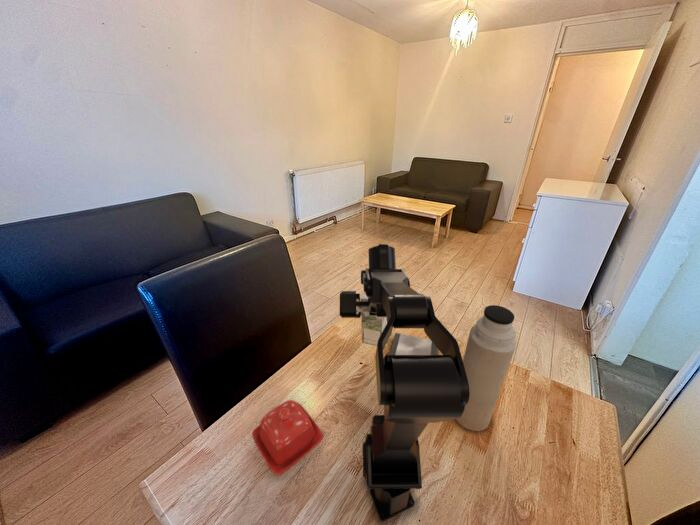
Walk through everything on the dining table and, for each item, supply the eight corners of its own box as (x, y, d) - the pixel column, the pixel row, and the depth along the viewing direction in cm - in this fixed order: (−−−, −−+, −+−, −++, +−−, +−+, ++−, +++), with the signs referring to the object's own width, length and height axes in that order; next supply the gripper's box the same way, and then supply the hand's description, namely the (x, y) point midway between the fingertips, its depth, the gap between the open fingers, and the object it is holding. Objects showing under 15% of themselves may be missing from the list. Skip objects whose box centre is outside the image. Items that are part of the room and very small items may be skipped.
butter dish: (327, 441, 58) (325, 414, 54) (276, 483, 51) (270, 456, 48) (297, 403, 66) (294, 377, 62) (250, 435, 59) (243, 409, 55)
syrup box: (386, 334, 80) (387, 289, 74) (382, 348, 75) (382, 301, 69) (367, 330, 82) (366, 286, 76) (361, 344, 76) (359, 297, 70)
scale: (433, 380, 72) (435, 371, 70) (386, 368, 75) (387, 360, 74) (436, 347, 82) (437, 339, 80) (395, 338, 85) (395, 331, 84)
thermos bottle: (485, 401, 66) (517, 302, 54) (493, 434, 59) (532, 329, 47) (449, 395, 68) (472, 297, 55) (453, 427, 61) (480, 323, 48)
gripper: (421, 262, 64) (408, 280, 79) (339, 263, 64) (341, 281, 79) (426, 312, 60) (411, 321, 75) (338, 312, 60) (340, 321, 75)
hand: (375, 310), depth 76 cm, fingers closed on syrup box, 7 cm apart
